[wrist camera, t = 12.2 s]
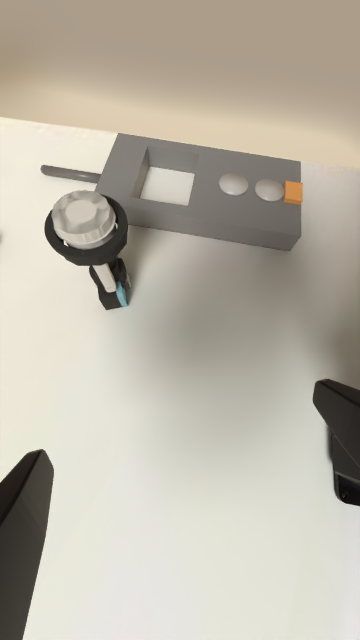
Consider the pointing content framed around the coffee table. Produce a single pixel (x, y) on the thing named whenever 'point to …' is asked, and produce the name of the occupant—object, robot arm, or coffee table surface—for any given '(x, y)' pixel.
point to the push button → (92, 240)
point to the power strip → (204, 191)
